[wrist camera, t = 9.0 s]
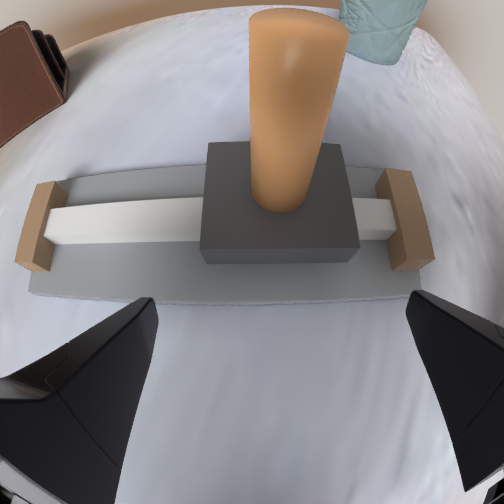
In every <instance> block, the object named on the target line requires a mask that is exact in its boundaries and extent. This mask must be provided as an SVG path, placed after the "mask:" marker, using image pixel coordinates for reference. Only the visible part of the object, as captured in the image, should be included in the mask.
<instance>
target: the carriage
mask: <svg viewBox="0 0 504 504" xmlns="http://www.w3.org/2000/svg"><path fill="white" fill-rule="evenodd" d="M349 36H350V31H349V30H348V28H347V27H346V26H345V25H344V24H342V23H341V22H339V21H338V20H336V19H334V18H332V17H329V16H327V15H324V14H321V13H318V12H314V11H309V10H304V9H296V8H274V9H267V10H263V11H260V12H257V13H255V14H253V15H252V16H251V17H250V18H249V73H250V141H248V142H215V143H209V144H208V153H207V162H206V172H205V183H204V194H203V206H202V219H201V233H200V249H199V250H200V252H201V254H202V256H203V258H204V260H205V262H206V264H292V263H347V262H348V261H349V260H350V259H351V258H352V257H353V256H354V255H355V254H356V253H357V251H358V250H359V249H360V248H361V247H360V241H359V234H358V228H357V222H356V217H355V211H354V206H353V201H352V196H351V191H350V186H349V181H348V177H347V172H346V168H345V164H344V159H343V155H342V151H341V147H340V144H327V143H322V140H323V136H324V133H325V129H326V126H327V122H328V118H329V115H330V111H331V107H332V104H333V100H334V96H335V92H336V88H337V85H338V81H339V77H340V73H341V69H342V65H343V61H344V57H345V53H346V49H347V44H348V40H349Z"/></svg>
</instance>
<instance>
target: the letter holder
mask: <svg viewBox="0 0 504 504" xmlns="http://www.w3.org/2000/svg"><path fill="white" fill-rule="evenodd" d="M68 78H69V68H68V66H67V64H66V62H65V60H64V57H63V56H62V54H61V52H60V50H59V47H58V45H57V43H56V40H55V39H54V37H53V36H52V35H50V34H46V35H44V34H43V32H42V31H40V30H33V31H31V29H30V27H29V25H28V23H27V22H25V21H18V22H16V23H14V24H12V25H10V26H8V27H6V28H5V29H3V30H1V31H0V148H1V147H2V146H3V145H5V144H6V143H7V142H8V141H10V140H11V139H12V138H14V137H15V136H16V135H18V134H19V133H20V132H22V131H23V130H24V129H26V128H27V127H29V126H30V125H31V124H33V123H34V122H36V121H37V120H39V119H40V118H42V117H43V116H45V115H46V114H48V113H50V112H51V111H53V110H54V109H56V108H58V107H59V106H61V105H63V104H64V103H66V96H67V86H68Z"/></svg>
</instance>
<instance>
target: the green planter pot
mask: <svg viewBox="0 0 504 504" xmlns="http://www.w3.org/2000/svg"><path fill="white" fill-rule="evenodd" d="M427 1H428V0H341V3H340V13H339V15H340V17H339V18H340V19H339V22H341V23H342V24H344V25H345V26H346V27H347V28H348V30H349V31H350V36H349V40H348V44H347V49H346V51H347V52H348V53H350V54H352V55H354V56H356V57H358V58H360V59H363V60H366V61H369V62H372V63H376V64H381V65H394V64H396V63H397V62H398V60H399V58H400V56H401V54H402V50H403V49H404V48H405V46H406V44H407V41H408V40H409V36H410V35H411V34H412V30H413V29H414V27H415V24H416V23H417V21H418V17H420V15H421V12H422V10H423V9H424V7H425V5H426V3H427Z"/></svg>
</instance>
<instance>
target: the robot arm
mask: <svg viewBox="0 0 504 504" xmlns="http://www.w3.org/2000/svg"><path fill="white" fill-rule="evenodd" d="M406 317H407V320H408V323H409V325H410V328H411V331H412V334H413V337H414V340H415V343H416V346H417V349H418V352H419V354H420V356H421V359H422V361H423V363H424V366H425V368H426V371H427V373H428V375H429V378H430V381H431V383H432V386H433V388H434V391H435V393H436V396H437V399H438V402H439V404H440V407H441V410H442V413H443V416H444V419H445V422H446V425H447V428H448V431H449V434H450V437H451V441H452V443H453V448H454V451H455V455H456V459H457V462H458V466H459V470H460V474H461V479H462V483H463V487H464V491H465V492H467V491H469V490H471V489H472V488H474V487H476V486H477V485H479V484H481V483H482V482H484V481H485V480H487V479H488V478H490V477H492V476H493V475H495V474H496V473H497V472H499V471H500V470H502V469H503V471H504V328H503V327H501V326H499V325H497V324H494V323H492V322H490V321H488V320H486V319H484V318H482V317H480V316H478V315H476V314H474V313H472V312H470V311H467V310H465V309H463V308H461V307H459V306H457V305H455V304H452V303H450V302H448V301H446V300H444V299H442V298H439V297H437V296H435V295H433V294H431V293H428V292H426V291H424V290H413V291H412V292H411V294H410V298H409V301H408V304H407V308H406ZM157 328H158V314H157V310H156V305H155V301H154V299H153V298H152V297H140V298H139V299H137V300H136V301H134V302H132V303H131V304H129V305H127V306H126V307H124V308H122V309H121V310H119V311H117V312H116V313H114V314H113V315H111V316H109V317H108V318H106V319H104V320H103V321H101V322H100V323H98V324H96V325H95V326H93V327H91V328H90V329H88V330H87V331H85V332H83V333H82V334H80V335H79V336H77V337H75V338H74V339H72V340H71V341H69V343H66V344H64V345H63V346H61V347H59V348H58V349H56V350H55V351H53V352H51V353H50V354H48V355H46V356H44V357H42V358H41V359H39V360H37V361H35V362H33V363H31V364H29V365H27V366H26V367H24V368H22V369H20V370H18V371H16V372H14V373H12V374H11V375H8V376H6V377H3V378H0V504H114V503H115V498H116V493H117V488H118V484H119V479H120V475H121V469H122V465H123V461H124V457H125V453H126V448H127V444H128V440H129V437H130V433H131V429H132V425H133V421H134V418H135V414H136V410H137V407H138V403H139V400H140V396H141V393H142V389H143V386H144V383H145V379H146V376H147V373H148V370H149V366H150V363H151V359H152V354H153V348H154V343H155V338H156V333H157ZM483 504H504V478H503V479H502V480H500V481H499V482H497V483H496V484H495V485H493V486H492V487H490V488H489V489H488V492H487V495H486V498H485V500H484V503H483Z"/></svg>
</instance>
